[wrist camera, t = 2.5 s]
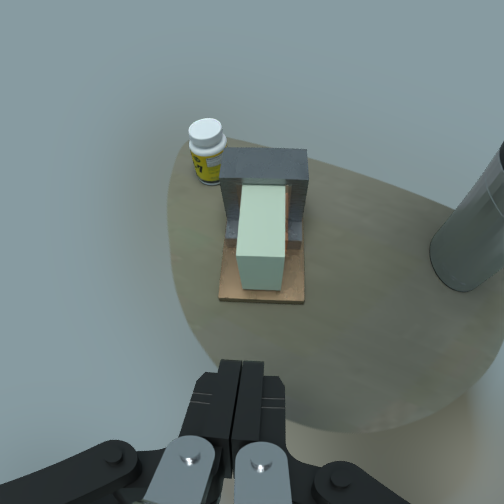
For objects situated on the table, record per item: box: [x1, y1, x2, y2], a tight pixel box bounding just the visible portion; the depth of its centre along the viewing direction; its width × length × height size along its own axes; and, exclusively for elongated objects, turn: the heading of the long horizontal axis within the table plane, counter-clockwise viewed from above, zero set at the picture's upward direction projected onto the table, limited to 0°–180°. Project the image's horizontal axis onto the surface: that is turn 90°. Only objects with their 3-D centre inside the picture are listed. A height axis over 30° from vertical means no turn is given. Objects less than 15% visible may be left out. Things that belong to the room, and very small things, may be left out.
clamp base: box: [218, 148, 309, 304], centre depth 32 cm, size 15×9×10 cm, turn 177°
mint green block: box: [236, 183, 285, 291], centre depth 31 cm, size 8×4×8 cm, turn 177°
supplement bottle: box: [189, 118, 228, 185], centre depth 38 cm, size 5×5×8 cm
